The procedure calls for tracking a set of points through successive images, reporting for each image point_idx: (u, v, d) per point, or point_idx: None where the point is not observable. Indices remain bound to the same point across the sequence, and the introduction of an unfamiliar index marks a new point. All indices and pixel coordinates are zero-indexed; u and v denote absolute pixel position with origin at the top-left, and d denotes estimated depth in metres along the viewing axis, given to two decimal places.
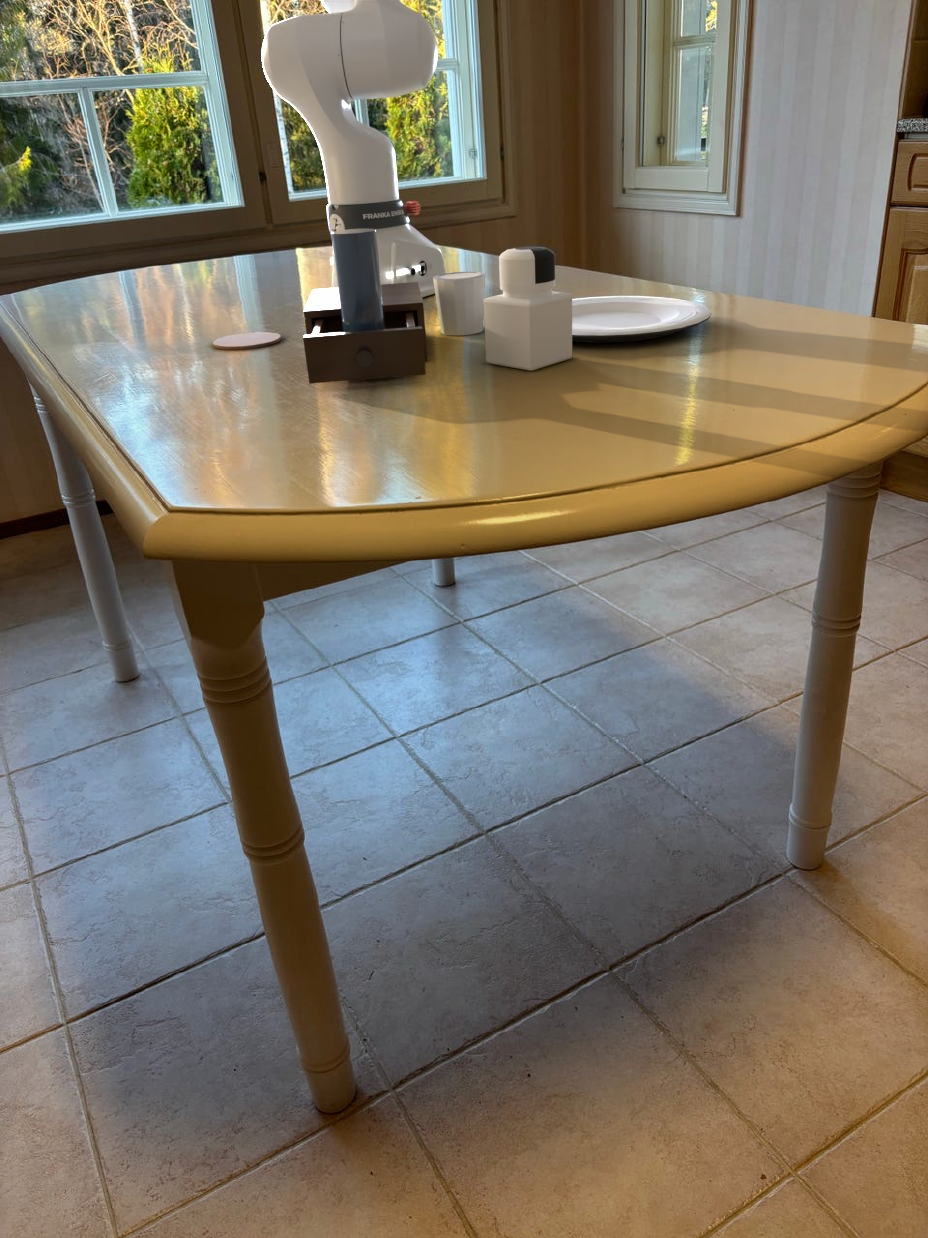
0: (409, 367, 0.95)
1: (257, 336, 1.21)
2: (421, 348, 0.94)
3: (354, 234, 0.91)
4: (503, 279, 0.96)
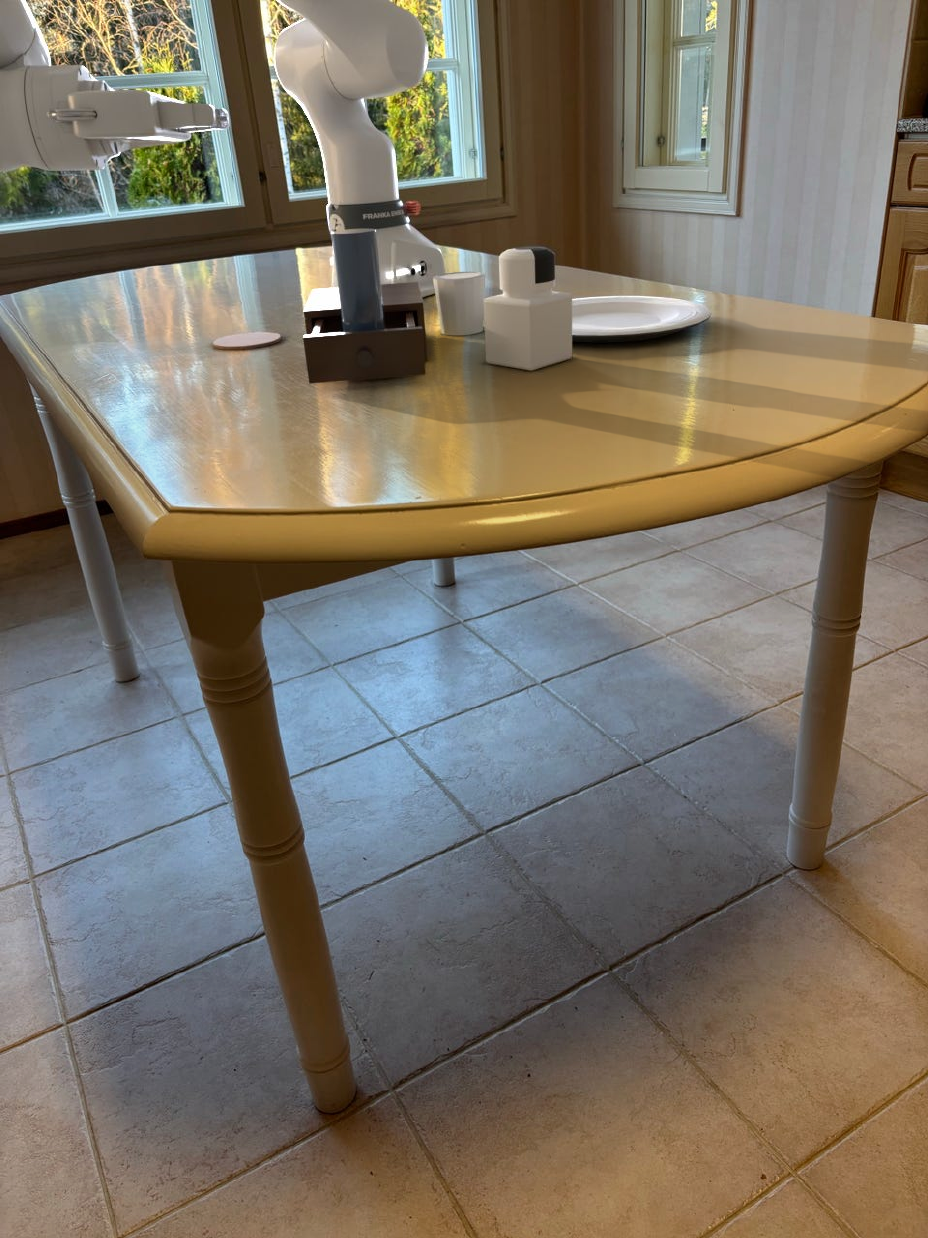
0: (409, 367, 0.95)
1: (257, 336, 1.21)
2: (421, 348, 0.94)
3: (354, 234, 0.91)
4: (503, 279, 0.96)
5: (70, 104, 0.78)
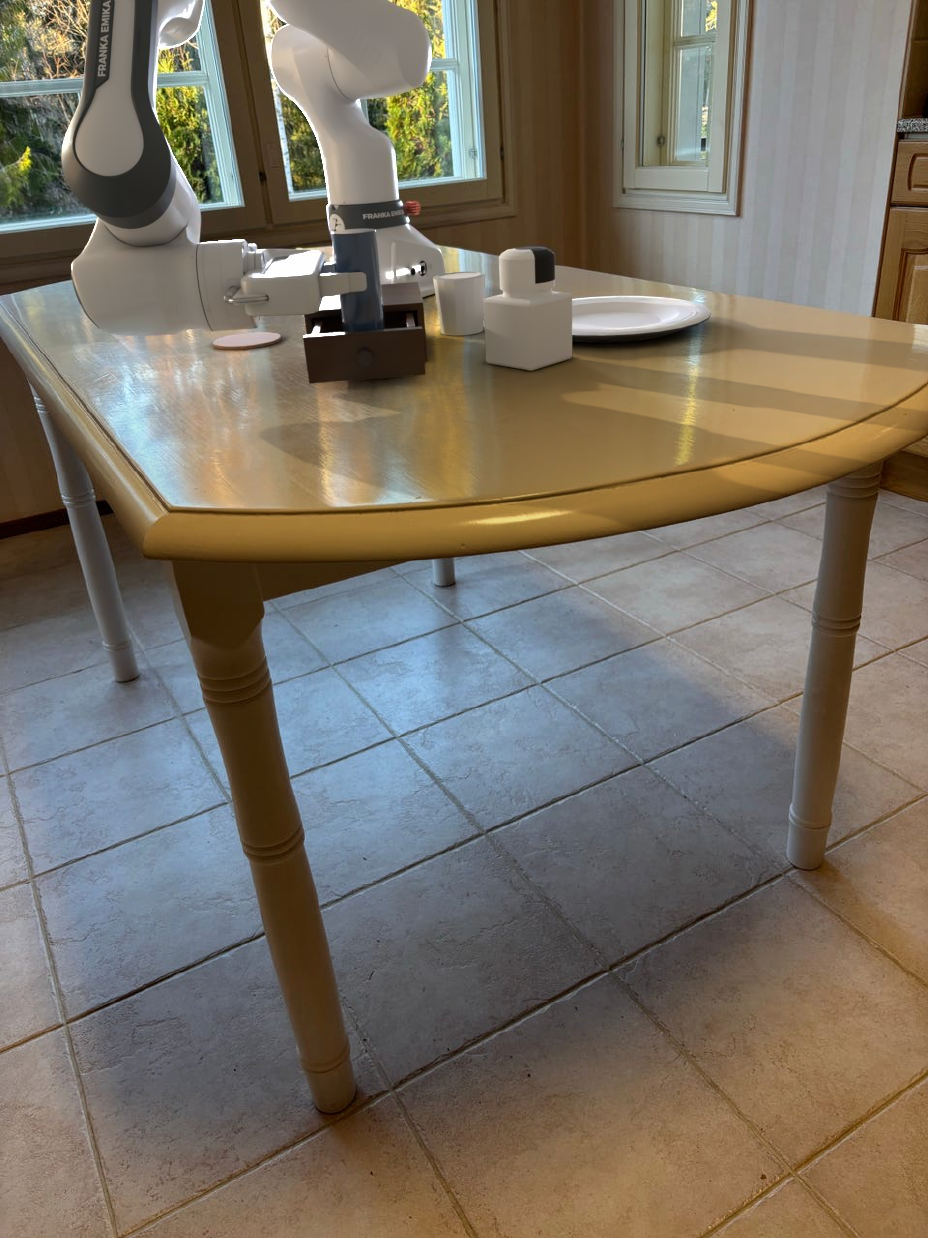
0: (409, 367, 0.95)
1: (257, 336, 1.21)
2: (421, 348, 0.94)
3: (354, 234, 0.91)
4: (503, 279, 0.96)
5: (244, 289, 0.86)
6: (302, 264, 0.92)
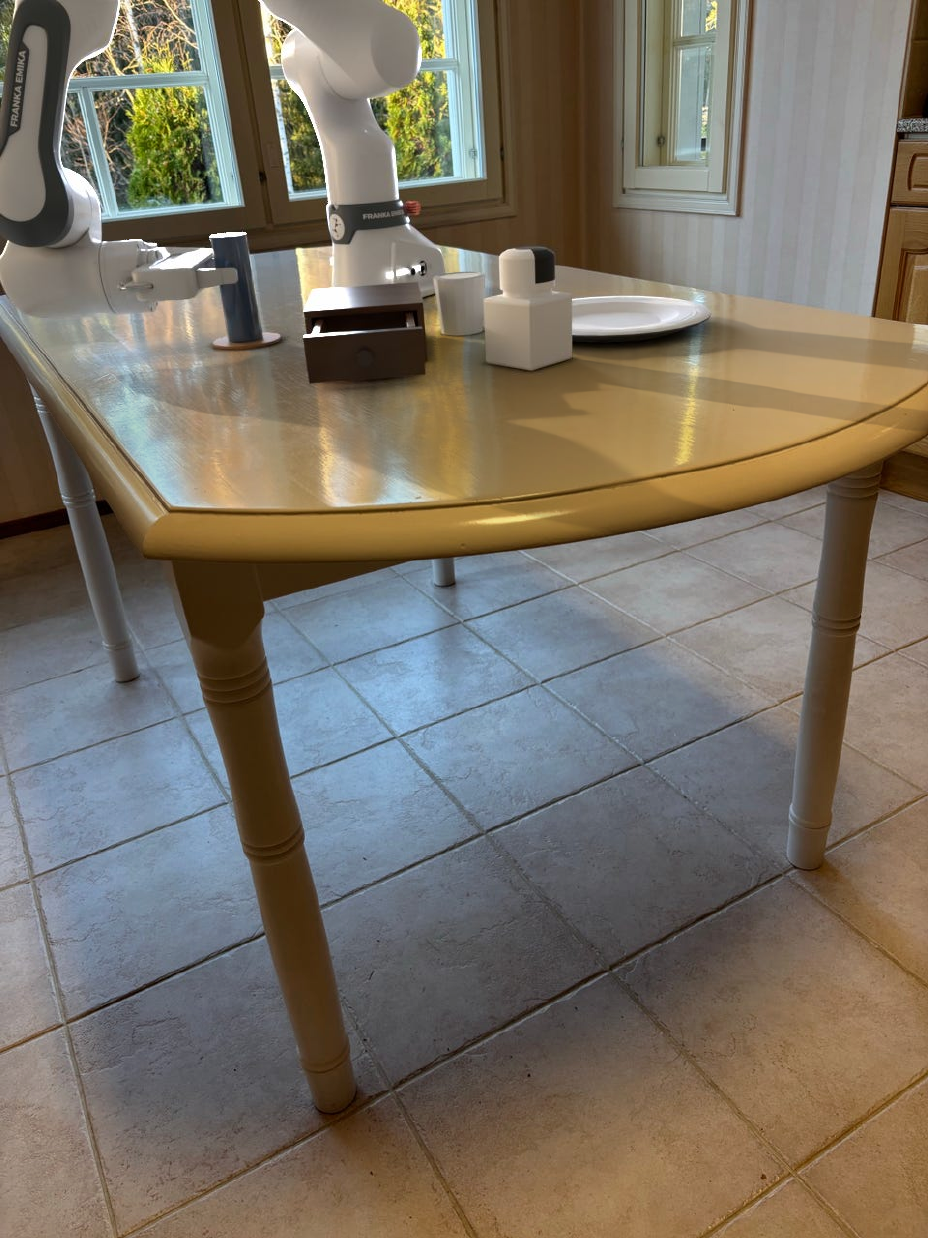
0: (409, 367, 0.95)
1: None
2: (421, 348, 0.94)
3: (226, 237, 1.12)
4: (503, 279, 0.96)
5: (134, 279, 1.08)
6: (187, 259, 1.14)
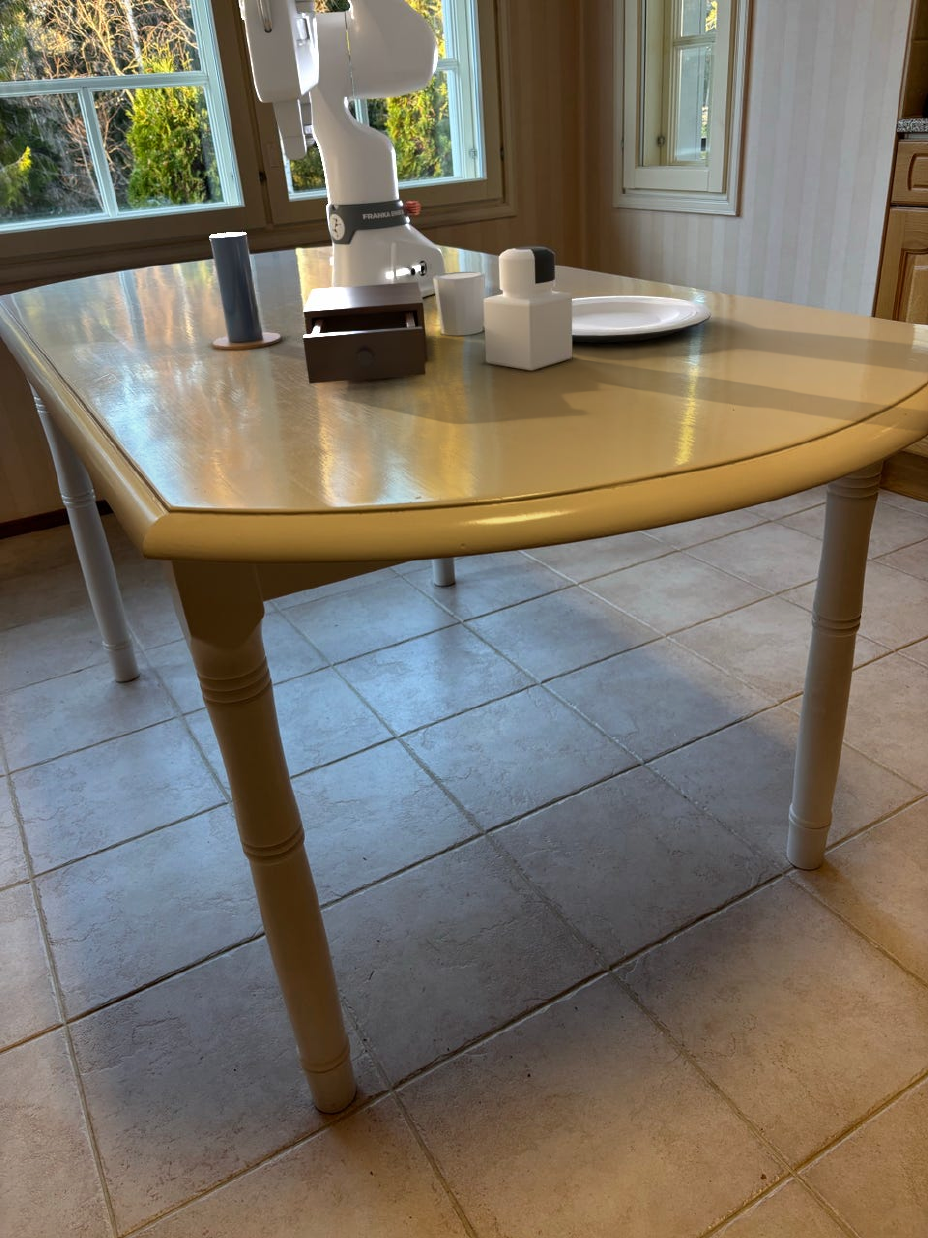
0: (409, 367, 0.95)
1: None
2: (421, 348, 0.94)
3: (226, 237, 1.12)
4: (503, 279, 0.96)
5: None
6: (306, 68, 0.78)
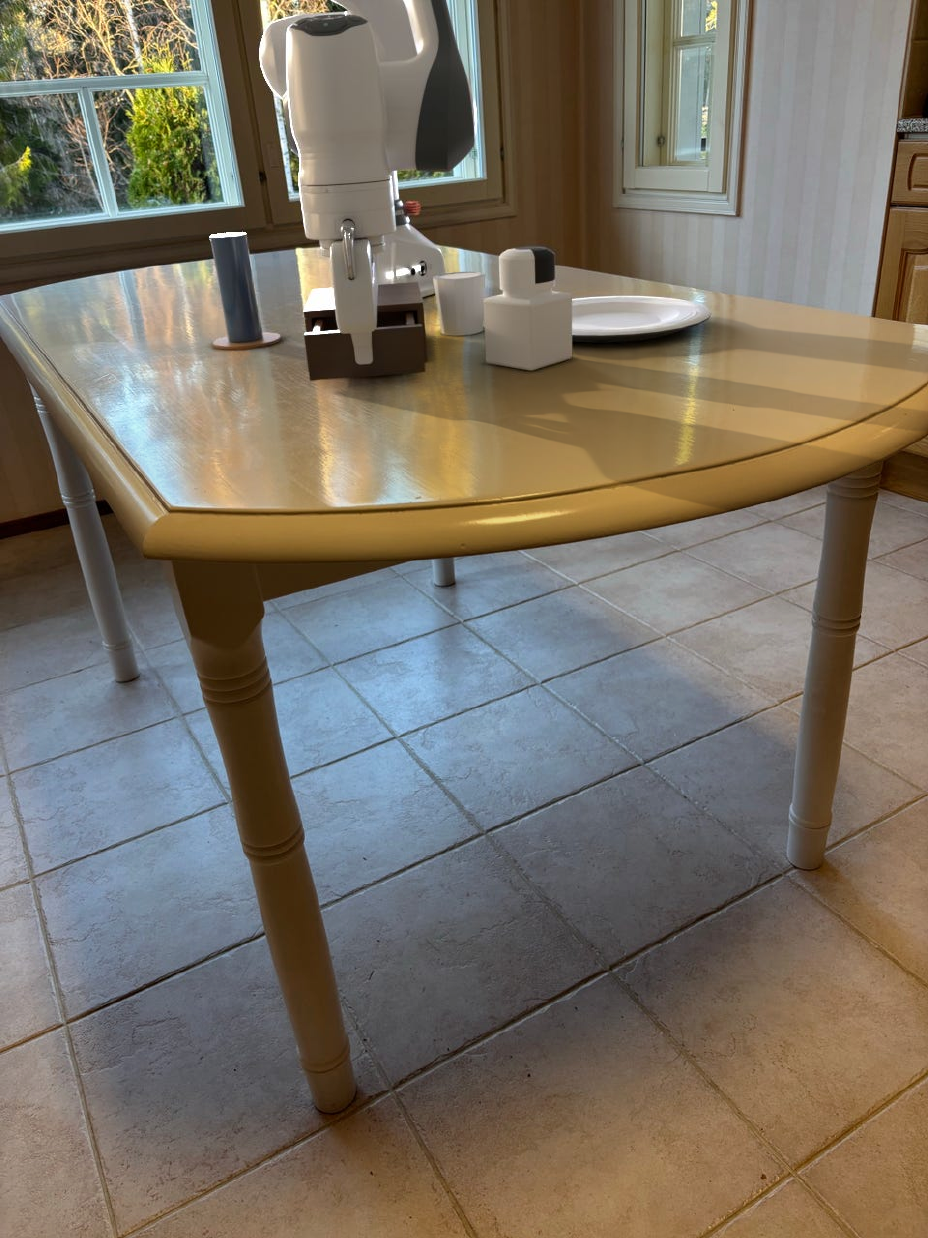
0: (409, 364, 0.96)
1: None
2: (420, 346, 0.95)
3: (226, 237, 1.12)
4: (503, 279, 0.96)
5: (357, 250, 0.80)
6: None
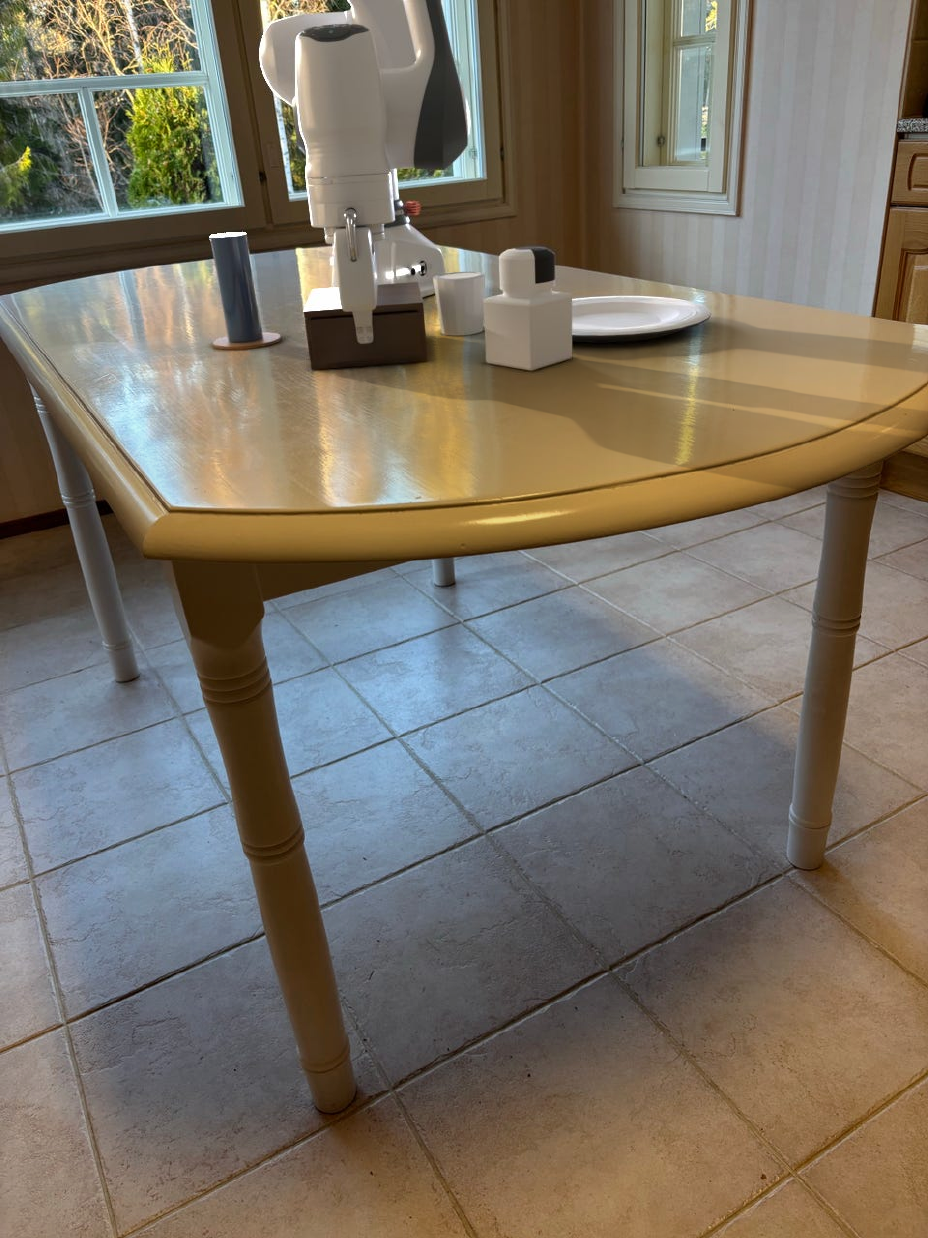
0: (407, 349, 1.03)
1: None
2: (417, 331, 1.02)
3: (226, 237, 1.12)
4: (503, 279, 0.96)
5: (359, 234, 0.87)
6: None
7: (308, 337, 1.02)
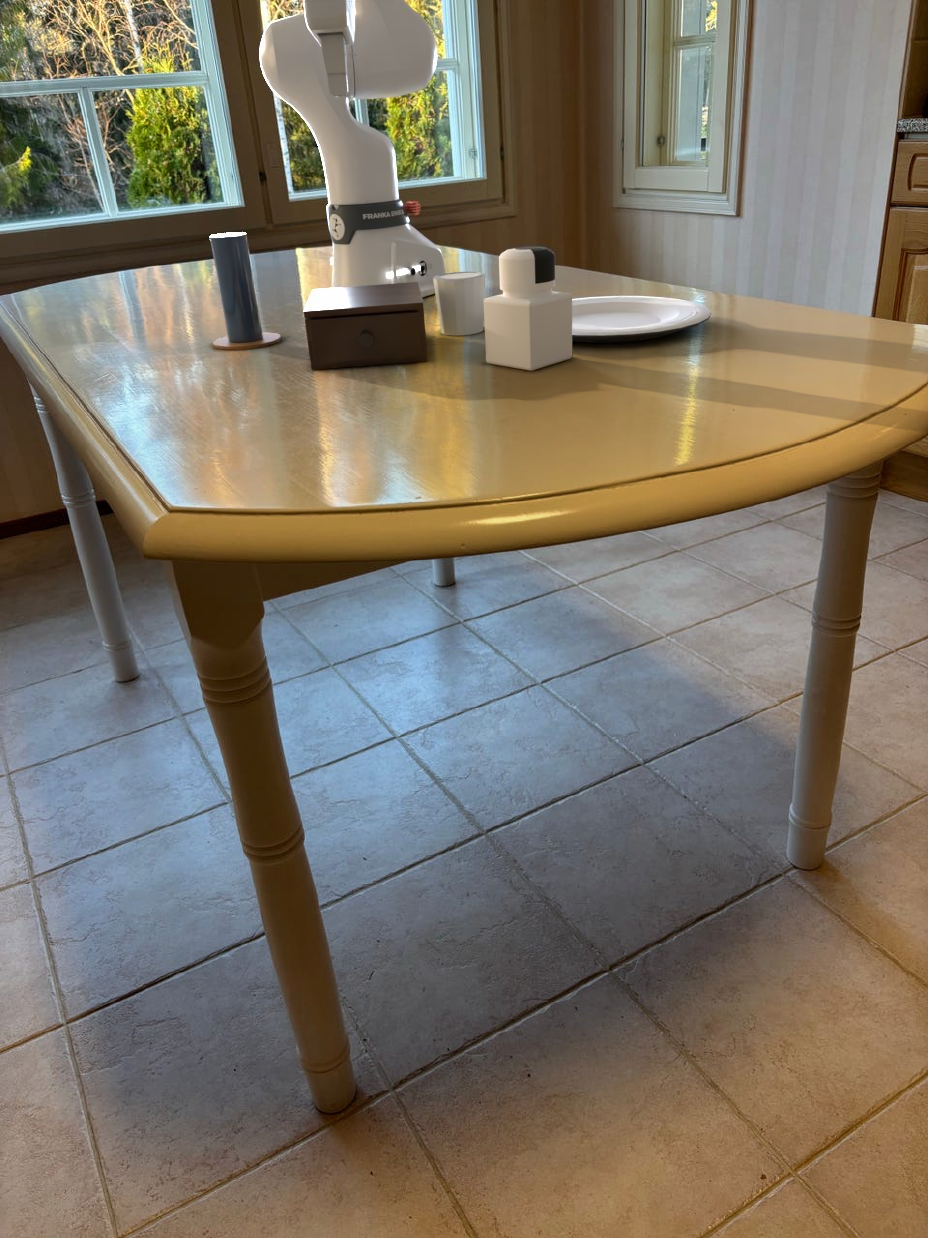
0: (407, 349, 1.03)
1: None
2: (417, 331, 1.02)
3: (226, 237, 1.12)
4: (503, 279, 0.96)
5: None
6: (349, 13, 0.82)
7: (308, 337, 1.02)
